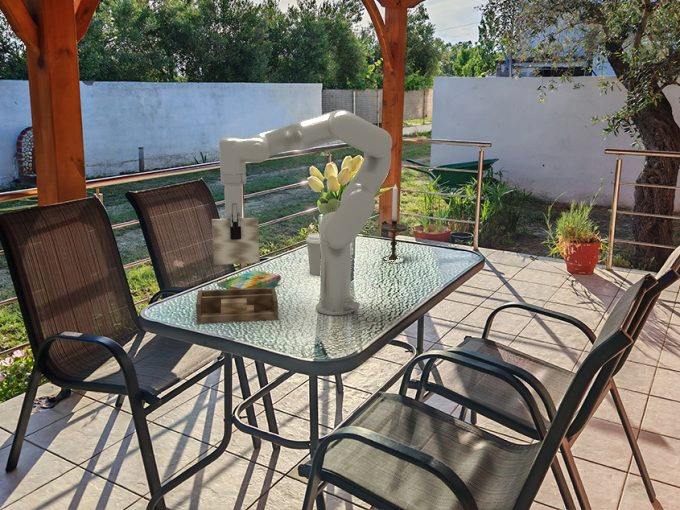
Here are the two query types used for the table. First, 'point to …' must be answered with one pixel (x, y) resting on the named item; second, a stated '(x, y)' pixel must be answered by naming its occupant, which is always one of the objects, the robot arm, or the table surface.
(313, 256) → the coffee cup
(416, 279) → the table surface
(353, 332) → the table surface
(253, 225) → the birch sheet
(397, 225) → the candlestick
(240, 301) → the tan wooden block
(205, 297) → the walnut rack
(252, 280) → the puzzle game
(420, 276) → the table surface
